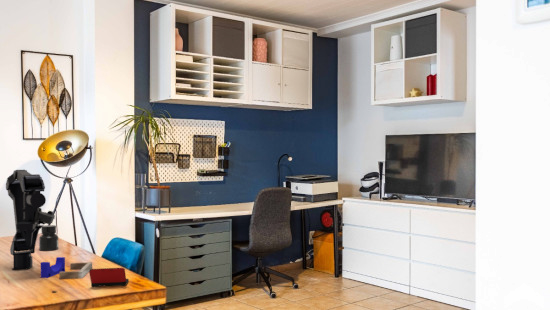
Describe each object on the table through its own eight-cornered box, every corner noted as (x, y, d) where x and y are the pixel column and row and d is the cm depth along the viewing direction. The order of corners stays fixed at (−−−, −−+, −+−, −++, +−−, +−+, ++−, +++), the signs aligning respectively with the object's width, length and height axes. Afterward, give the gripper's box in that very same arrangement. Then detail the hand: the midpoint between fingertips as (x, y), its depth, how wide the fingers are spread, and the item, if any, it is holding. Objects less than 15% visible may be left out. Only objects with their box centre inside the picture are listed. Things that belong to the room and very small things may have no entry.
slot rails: (59, 279, 214) (59, 272, 214) (71, 268, 233) (71, 262, 233) (82, 278, 215) (82, 271, 215) (92, 268, 234) (92, 262, 234)
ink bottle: (62, 249, 282) (62, 225, 282) (47, 251, 275) (47, 227, 275) (50, 247, 288) (50, 224, 288) (35, 250, 280) (35, 226, 280)
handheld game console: (129, 281, 210) (129, 261, 210) (124, 288, 200) (124, 267, 200) (95, 282, 209) (94, 263, 209) (88, 289, 198) (88, 268, 198)
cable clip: (55, 271, 229) (55, 257, 229) (65, 271, 228) (64, 257, 228) (37, 277, 217) (37, 262, 217) (47, 278, 217) (47, 262, 217)
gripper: (45, 207, 214) (46, 248, 214) (58, 203, 232) (58, 240, 232) (15, 208, 212) (15, 249, 212) (30, 203, 231) (31, 241, 231)
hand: (31, 244), depth 222 cm, fingers open, 6 cm apart
